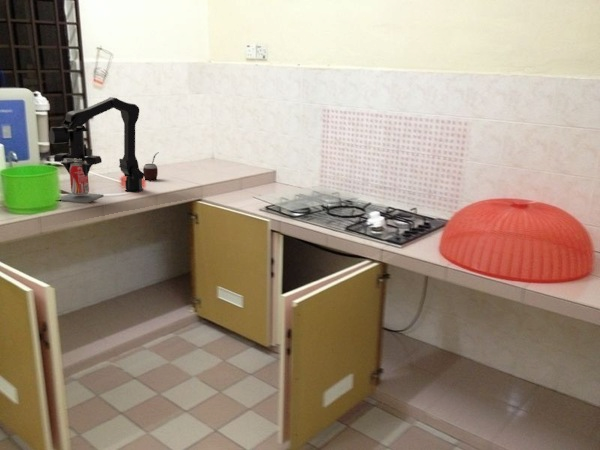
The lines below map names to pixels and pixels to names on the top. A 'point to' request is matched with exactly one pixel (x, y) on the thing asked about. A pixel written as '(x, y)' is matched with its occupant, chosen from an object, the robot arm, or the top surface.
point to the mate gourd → (150, 171)
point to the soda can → (78, 179)
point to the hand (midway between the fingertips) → (79, 178)
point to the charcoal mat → (80, 197)
